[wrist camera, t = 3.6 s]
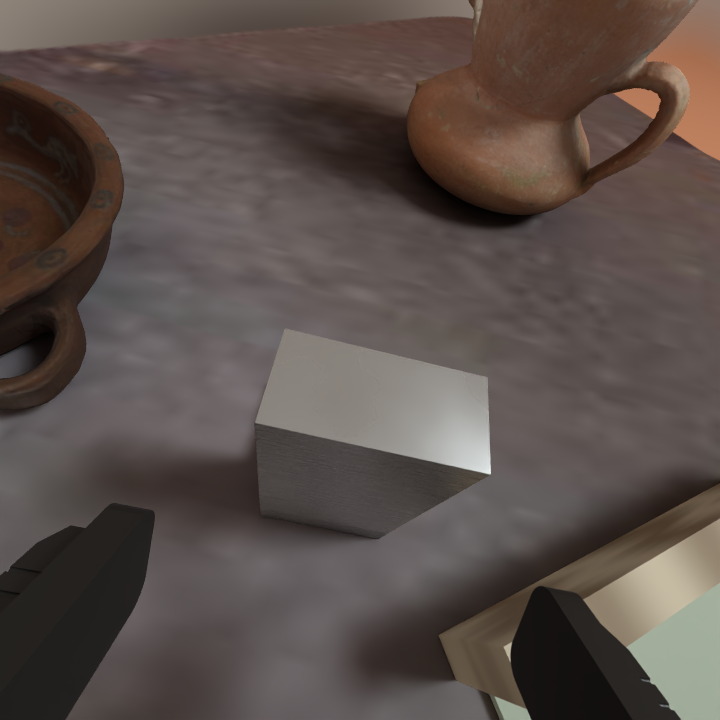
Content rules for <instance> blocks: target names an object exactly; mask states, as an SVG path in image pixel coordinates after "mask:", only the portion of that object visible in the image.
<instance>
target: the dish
mask: <svg viewBox="0 0 720 720" xmlns="http://www.w3.org/2000/svg"><path fill="white" fill-rule="evenodd" d="M123 191H124V179H123V174H122V170H121V163H120V160H119V156H118V153H117V152H116V150H115V148H114V147H113V145H112V144H111V142H110V141H109V138H108V137H107V136H106V135H105V133H104V131H103V130H102V129H101V127H100V126H99V125H98V124H97V123H96V122H95V120H94V119H93V118H92V117H91V116H90V115H88V114H87V113H86V112H85V111H83V110H82V109H81V108H79V107H78V106H77V105H76V104H74V103H72V102H70V101H69V100H67V99H65V98H63V97H60V96H58V95H55V94H53V93H51V92H49V91H47V90H45V89H44V88H42V87H40V86H37V85H35V84H32V83H30V82H26V81H23V80H20V79H17V78H14V77H11V76H7V75H4V74H0V355H1V354H3V353H5V352H7V351H9V350H11V349H13V348H16V347H17V346H19V345H21V344H23V343H25V342H27V341H29V340H30V339H32V338H34V337H36V336H38V335H40V334H42V333H43V332H45V331H50V332H54V342H53V346H52V349H51V352H50V353H49V355H48V356H47V357H46V359H45V360H44V361H43V362H42V363H41V364H39V365H38V366H37V367H36V368H34V369H32V370H30V371H28V372H26V373H24V374H22V375H20V376H16V377H13V378H2V379H0V408H2V409H14V410H16V409H24V408H30V407H34V406H38V405H41V404H44V403H47V402H49V401H50V400H52V399H53V398H55V397H56V396H57V395H58V394H59V393H60V392H61V391H62V390H63V389H64V388H65V387H66V386H67V385H68V384H69V383H70V381H71V380H72V379H73V377H74V376H75V375H76V373H77V372H78V371H79V369H80V367H81V363H82V361H83V358H84V356H85V352H86V338H85V331H84V328H83V325H82V322H81V319H80V316H79V313H78V310H77V306H78V304H79V303H80V301H81V300H82V299H83V298H84V296H85V295H86V294H87V292H88V291H89V290H90V288H91V287H92V285H93V284H94V282H95V281H96V279H97V277H98V275H99V273H100V271H101V269H102V267H103V265H104V262H105V260H106V257H107V253H108V250H109V245H110V240H111V232H112V224H113V222H114V220H115V218H116V216H117V214H118V212H119V210H120V207H121V203H122V198H123Z"/></svg>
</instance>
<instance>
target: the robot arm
mask: <svg viewBox="0 0 720 720" xmlns="http://www.w3.org/2000/svg"><path fill="white" fill-rule="evenodd" d="M154 520H155V514H154V511H153V510H148V509H142V508H137V507H132V506H127V505H121V504H116V503H113V504H110V505H109V506H108V507H106V508H105V509H104V510H103V511H102V512H101V513H100V514H99V515H98V516H97V517H96V518H95V519H94V520H93V521H92V522H91V523H90V524H89V525H88V526H87V527H86V528H81V527H76V526H69V527H67V528H65V529H63V530H61V531H59V532H57V533H55V534H53V535H51V536H49V537H47V538H45V539H43V540H42V541H40V542H38V543H36V544H35V545H34V546H33V547H32V548H31V549H30V550H29V551H27V552H26V553H25V554H24V555H23V556H22V557H21V558H19V559H18V560H17V561H16V562H15V563H14V564H13V565H12V566H11V567H10V569H9V571H8V572H6V571H5V572H4V573H3V574H1V575H0V720H65V719H66V718H67V716H68V714H69V713H70V711H71V710H72V708H73V706H74V705H75V703H76V701H77V700H78V698H79V697H80V695H81V693H82V692H83V690H84V689H85V687H86V685H87V684H88V682H89V681H90V679H91V677H92V676H93V674H94V672H95V671H96V669H97V668H98V666H99V664H100V663H101V661H102V660H103V658H104V656H105V655H106V653H107V651H108V650H109V648H110V647H111V645H112V643H113V642H114V640H115V639H116V637H117V635H118V634H119V632H120V631H121V629H122V627H123V626H124V624H125V622H126V621H127V619H128V618H129V616H130V614H131V613H132V611H133V609H134V607H135V605H136V603H137V601H138V598H139V596H140V593H141V590H142V588H143V584H144V581H145V577H146V571H147V565H148V558H149V552H150V546H151V539H152V533H153V527H154ZM510 660H511V668H512V673H513V677H514V679H515V682H516V684H517V687H518V689H519V692H520V694H521V696H522V699H523V701H524V704H525V706H526V708H527V711H528V713H529V716H530V718H531V720H681V719H680V717H679V716H678V715H677V713H676V712H675V711H674V710H671V709H670V707H669V703H668V701H667V700H666V699H665V697H664V696H663V695H662V693H661V692H660V691H659V689H658V688H657V687H656V685H655V684H651V682H650V677H649V676H648V675H647V673H646V672H645V671H644V669H643V668H642V667H641V665H640V664H639V663H638V661H637V660H636V659H635V657H634V656H633V655H632V653H631V652H630V651H629V650H628V649H627V648H626V647H625V646H624V645H623V644H622V643H621V642H620V641H619V640H618V639H617V638H616V637H615V636H614V635H612V634H611V633H610V632H609V631H608V630H607V629H606V628H605V627H604V626H603V625H601V623H600V622H599V621H598V619H597V618H596V617H595V615H594V614H593V612H592V611H591V610H590V608H589V607H588V606H587V604H586V603H585V601H584V600H583V599H582V598H581V596H579V595H578V594H577V593H575V592H571V591H565V590H560V589H555V588H550V587H544V586H538V587H536V588H535V589H534V590H533V592H532V594H531V596H530V599H529V601H528V604H527V606H526V609H525V611H524V614H523V616H522V619H521V621H520V624H519V626H518V629H517V631H516V634H515V636H514V639H513V641H512V645H511V652H510Z"/></svg>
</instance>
